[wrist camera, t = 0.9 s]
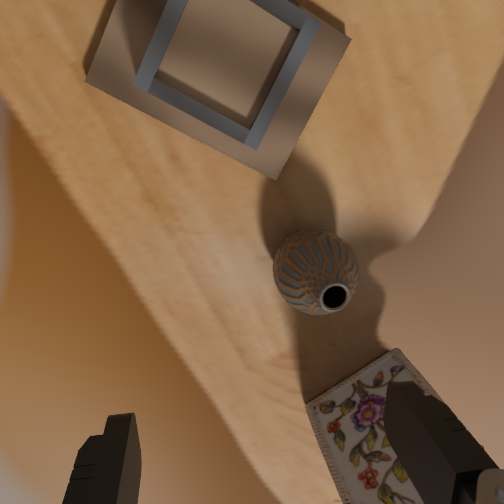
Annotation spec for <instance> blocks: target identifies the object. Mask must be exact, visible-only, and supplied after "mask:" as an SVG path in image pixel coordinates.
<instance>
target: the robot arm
mask: <svg viewBox="0 0 504 504" xmlns="http://www.w3.org/2000/svg"><path fill="white" fill-rule="evenodd" d="M384 430H385V434H386V437H387V439H388V442H389V443H390V445H391V447H392V449H393V450H394V452H395V454H396V456H397V457H398V459H399V461H400V463H401V464H402V466H403V468H404V469H405V471H406V473H407V475H408V476H409V478H410V480H411V482H412V483H413V485H414V487H415V489H416V490H417V492H418V494H419V496H420V497H421V499H422V501H423V502H424V504H504V470H503V469H499V467H498V466H497V465H496V464H495V462H494V461H493V460H492V459H491V458H490V457H489V455H488V454H487V453H486V452H485V450H484V449H483V448H482V447H481V446H480V444H479V443H478V442H477V441H476V440H475V438H474V437H473V436H472V435H471V434H470V432H469V431H467V430H466V428H465V426H464V425H463V424H462V423H461V421H460V420H458V419H457V417H456V415H455V414H454V413H453V412H452V411H451V409H450V408H449V407H448V406H447V405H446V404H445V403H443V402H442V401H440V400H439V399H437V398H436V397H434V396H433V395H427V396H425V395H424V393H423V392H422V391H421V389H420V388H419V387H418V386H417V384H416V383H415V382H414V381H403V382H395V383H389V384H388V386H387V392H386V402H385V412H384ZM140 479H141V449H140V443H139V437H138V431H137V424H136V418H135V414H134V413H126V414H117V415H110V416H108V418H107V422H106V426H105V430H104V434H103V435H95V436H90V437H89V438H88V439H87V441H86V442H85V443H84V444H83V446H82V447H81V448H80V449H79V451H78V454H77V457H76V460H75V464H74V469H73V470H72V474H71V477H70V482H69V483H68V486H67V490H66V493H65V496H64V499H63V503H62V504H137V503H138V494H139V487H140Z"/></svg>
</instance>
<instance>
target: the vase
mask: <svg viewBox="0 0 504 504" xmlns="http://www.w3.org/2000/svg"><path fill="white" fill-rule="evenodd" d="M273 277H274V281H275V284H276V286H277V289H278V291H279V293H280V294H281V296H282V297H283V298H284V299H285V300H286V302H287V303H289V304H290V305H291V306H292V307H294V308H295V309H297V310H299V311H301V312H304V313H306V314H310V315H327V314H331V313H334V312H337V311H340V310H342V309H343V308H344V307H346V305H347V304H348V303H349V301H350V300H351V298H352V297H353V295H354V294H355V291H356V289H357V286H358V281H359V269H358V264H357V261H356V258H355V256H354V254H353V252H352V250H351V249H350V247H349V246H348V245H347V244H346V243H345V242H344V241H343V240H342V239H341V238H339V237H338V236H337V235H335V234H333V233H331V232H329V231H326V230H322V229H315V228H312V229H303V230H300V231H297V232H295V233H293V234H291V235H290V236H288V237H287V238H286V239H285V240H284V241H283V242H282V243H281V245H280V246H279V248H278V249H277V251H276V254H275V257H274V261H273Z"/></svg>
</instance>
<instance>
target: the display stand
mask: <svg viewBox="0 0 504 504" xmlns="http://www.w3.org/2000/svg"><path fill="white" fill-rule="evenodd" d="M350 41H351V38H349V37H348V36H346V35H345V34H343V33H342V32H340V31H339V30H337V29H336V28H334V27H333V26H331V25H330V24H328V23H327V22H325V21H324V20H322V19H321V18H319V17H318V16H316V15H315V14H313V13H312V12H310V11H309V10H307V9H306V8H304V7H303V6H301V5H300V4H298V3H297V2H295V1H293V0H117V1H116V3H115V6H114V8H113V11H112V13H111V16H110V18H109V21H108V23H107V26H106V28H105V31H104V34H103V36H102V39H101V41H100V44H99V46H98V49H97V51H96V54H95V56H94V59H93V61H92V64H91V66H90V69H89V72H88V74H87V77H86V79H85V82H86V83H88V84H90V85H92V86H94V87H96V88H98V89H100V90H102V91H104V92H105V93H107V94H109V95H111V96H113V97H115V98H117V99H119V100H121V101H123V102H125V103H127V104H129V105H131V106H133V107H134V108H136V109H138V110H140V111H142V112H144V113H146V114H148V115H150V116H152V117H154V118H156V119H158V120H160V121H161V122H163V123H165V124H167V125H169V126H171V127H173V128H175V129H177V130H179V131H181V132H183V133H185V134H187V135H189V136H190V137H192V138H194V139H196V140H198V141H200V142H202V143H204V144H206V145H208V146H210V147H212V148H214V149H216V150H217V151H219V152H221V153H223V154H225V155H227V156H229V157H231V158H233V159H235V160H237V161H239V162H241V163H243V164H244V165H246V166H248V167H250V168H252V169H254V170H256V171H258V172H260V173H262V174H264V175H266V176H268V177H270V178H272V179H273V180H275V181H276V180H277V178H278V176H279V174H280V173H281V171H282V169H283V167H284V165H285V163H286V161H287V159H288V158H289V156H290V154H291V152H292V150H293V148H294V146H295V144H296V143H297V141H298V139H299V137H300V135H301V133H302V131H303V129H304V128H305V126H306V124H307V122H308V120H309V118H310V116H311V114H312V113H313V111H314V109H315V107H316V105H317V103H318V101H319V99H320V98H321V96H322V94H323V92H324V90H325V88H326V86H327V84H328V83H329V81H330V79H331V77H332V75H333V73H334V71H335V69H336V68H337V66H338V64H339V62H340V60H341V58H342V56H343V54H344V53H345V51H346V49H347V47H348V45H349V43H350Z"/></svg>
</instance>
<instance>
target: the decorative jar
mask: <svg viewBox="0 0 504 504" xmlns="http://www.w3.org/2000/svg"><path fill="white" fill-rule="evenodd" d="M403 381H414V382H415V383H416V384H417V386H418V387H419V388H420V389H421V391H422V392H423V393H424V395H425V396H427V395H433V396H434V397H436V398H437V399H439V400H440V401H442V402H443V403H444V401H443V400H442V399H441V398H440V396H439V395H438V394H437V393H436V391H435V390H434V389H433V388H432V387H431V385H430V384H429V383H428V382H427V381H426V380H425V378H424V377H423V376H422V375H421V374H420V373H419V371H418V370H417V369H416V368H415V367H414V366H413V365H412V364H411V362H410V361H409V360H408V359H407V358H406V357H405V356H404V354H403V353H402V352H401V350H400V349H398V348H394V349H392V350H391V351H389V352H387V353H386V354H384V355H383V356H381V357H380V358H378V359H377V360H375V361H373V362H372V363H370V364H369V365H367V366H366V367H364V368H362V369H361V370H359V371H358V372H356V373H355V374H353V375H351V376H350V377H348V378H347V379H345V380H343V381H342V382H340V383H339V384H337V385H336V386H334V387H332V388H331V389H329V390H328V391H326V392H325V393H323V394H321V395H320V396H318V397H317V398H315V399H313V400H312V401H310V402H309V403H308V404H307V405H306V406H305V408H306V411H307V414H308V417H309V420H310V422H311V425H312V428H313V431H314V434H315V436H316V439H317V441H318V444H319V446H320V449H321V452H322V454H323V456H324V459H325V461H326V463H327V466H328V468H329V471H330V473H331V476H332V478H333V481H334V483H335V486H336V488H337V491H338V493H339V496H340V498H341V501H342V503H343V504H424V502H423V501H422V499H421V497H420V496H419V494H418V492H417V490H416V489H415V487H414V485H413V483H412V482H411V480H410V478H409V476H408V475H407V473H406V471H405V469H404V468H403V466H402V464H401V463H400V461H399V459H398V457H397V456H396V454H395V452H394V450H393V449H392V447H391V445H390V443H389V442H388V439H387V437H386V434H385V430H384V412H385V402H386V392H387V386H388V384H389V383H395V382H403ZM457 419H458V418H457ZM458 420H459V419H458ZM466 430H467V429H466ZM480 446H481V447H482V448H483V449H484V447H483V446H482V445H480Z"/></svg>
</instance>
